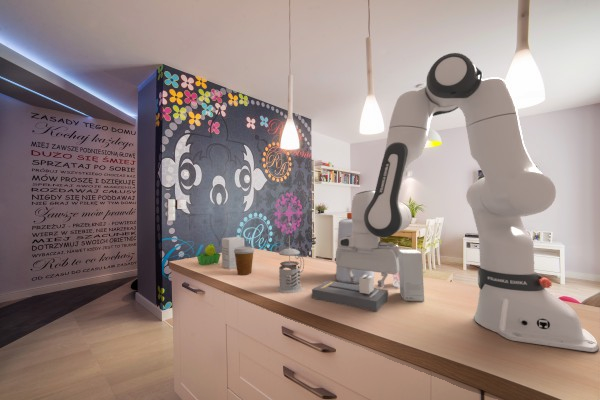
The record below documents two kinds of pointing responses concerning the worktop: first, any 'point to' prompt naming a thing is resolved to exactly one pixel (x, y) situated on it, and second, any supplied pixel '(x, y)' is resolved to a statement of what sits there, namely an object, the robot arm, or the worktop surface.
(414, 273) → the skincare box
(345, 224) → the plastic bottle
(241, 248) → the disposable coffee cup
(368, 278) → the fader knob
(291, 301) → the worktop surface
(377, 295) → the fader console
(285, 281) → the french press
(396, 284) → the beverage cup
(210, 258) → the fruit basket
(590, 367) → the worktop surface
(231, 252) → the supplement box
